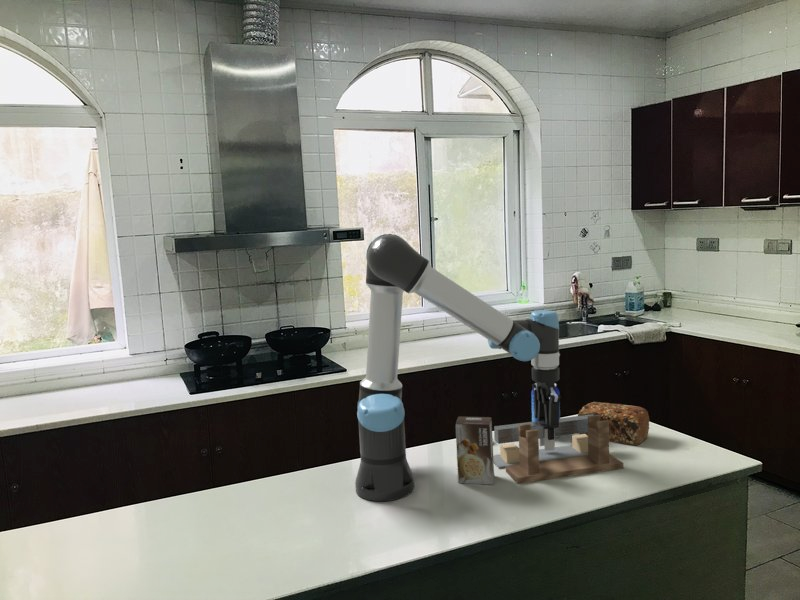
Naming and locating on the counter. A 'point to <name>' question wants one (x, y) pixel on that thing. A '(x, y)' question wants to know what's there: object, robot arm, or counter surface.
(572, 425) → the steel rail
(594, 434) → the walnut rack
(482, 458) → the coffee box
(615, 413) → the bread
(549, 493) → the counter surface
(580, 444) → the slate mat with oak rests
